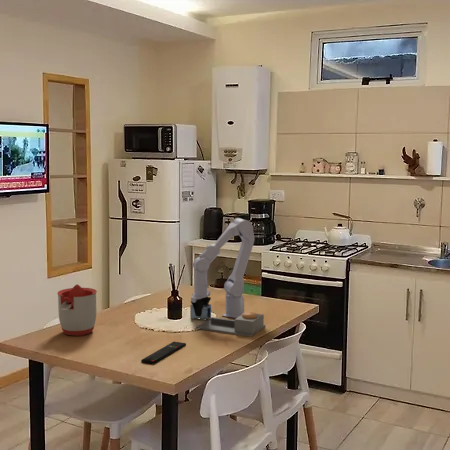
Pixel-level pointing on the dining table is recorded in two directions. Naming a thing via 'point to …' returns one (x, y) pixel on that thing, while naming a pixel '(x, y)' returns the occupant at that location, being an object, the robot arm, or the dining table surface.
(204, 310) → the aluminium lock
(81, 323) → the citrus juicer
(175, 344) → the remote control
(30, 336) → the dining table surface
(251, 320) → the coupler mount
